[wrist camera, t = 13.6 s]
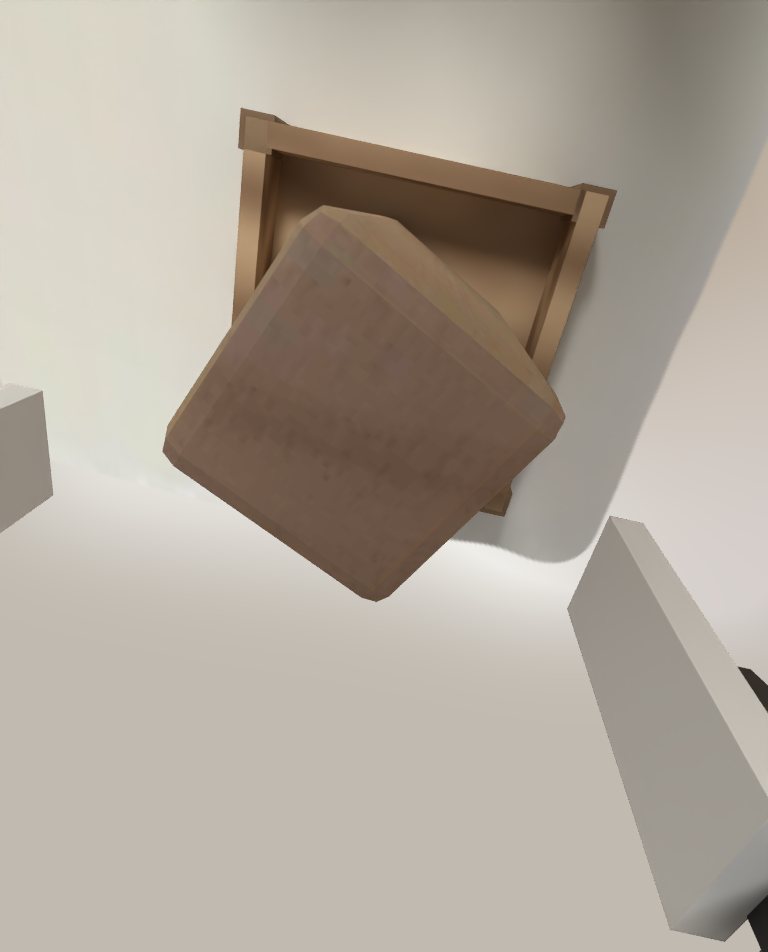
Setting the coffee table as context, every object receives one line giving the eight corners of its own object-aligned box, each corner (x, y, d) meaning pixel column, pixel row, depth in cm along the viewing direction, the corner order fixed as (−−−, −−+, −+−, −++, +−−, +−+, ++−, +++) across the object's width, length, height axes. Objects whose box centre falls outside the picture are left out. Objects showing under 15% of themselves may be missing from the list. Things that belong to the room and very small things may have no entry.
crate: (263, 121, 31) (240, 107, 27) (596, 194, 31) (617, 190, 27) (238, 433, 40) (218, 453, 36) (498, 490, 40) (504, 516, 36)
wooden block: (407, 431, 37) (377, 622, 19) (292, 339, 35) (139, 457, 17) (507, 318, 34) (587, 426, 16) (385, 208, 32) (312, 185, 14)
